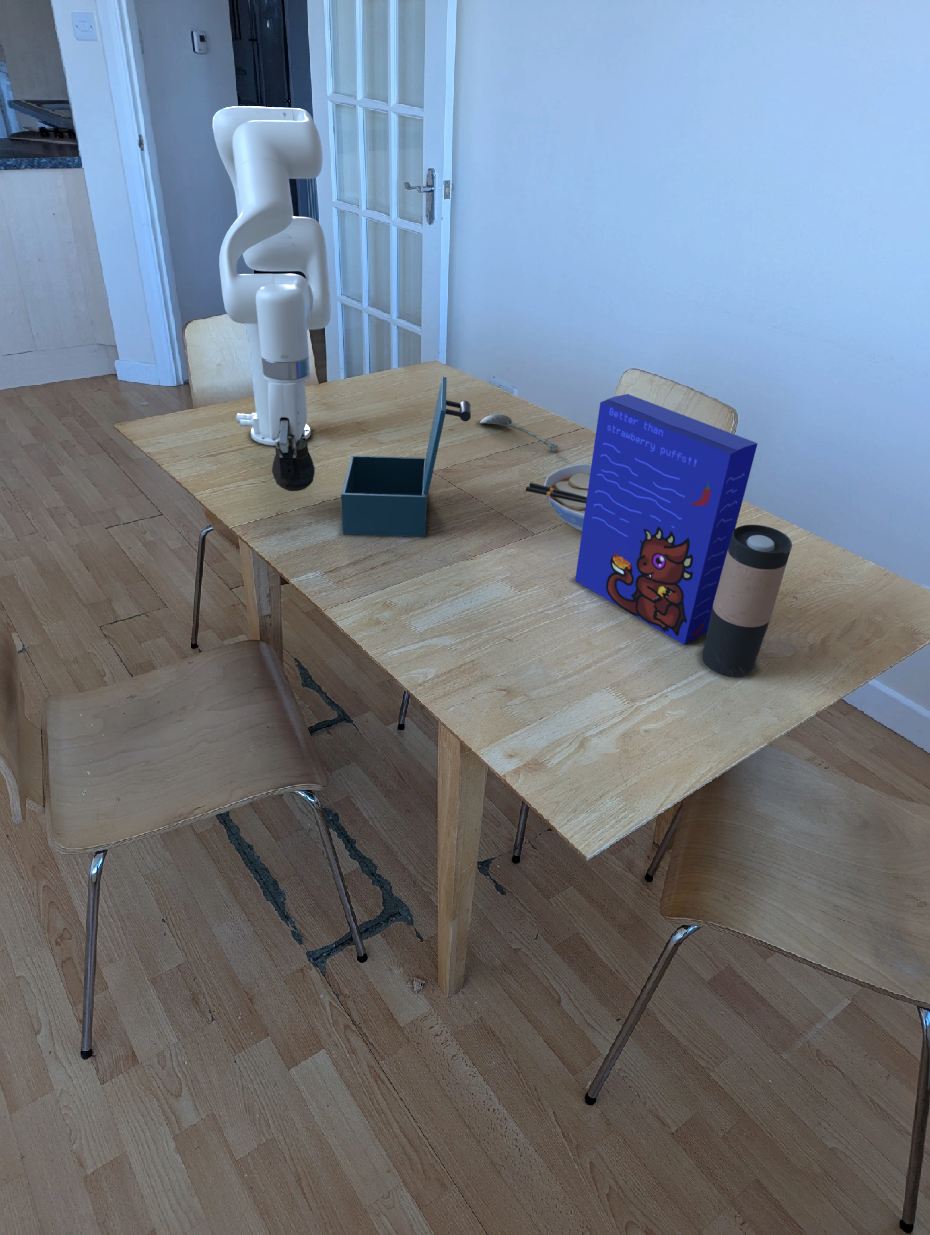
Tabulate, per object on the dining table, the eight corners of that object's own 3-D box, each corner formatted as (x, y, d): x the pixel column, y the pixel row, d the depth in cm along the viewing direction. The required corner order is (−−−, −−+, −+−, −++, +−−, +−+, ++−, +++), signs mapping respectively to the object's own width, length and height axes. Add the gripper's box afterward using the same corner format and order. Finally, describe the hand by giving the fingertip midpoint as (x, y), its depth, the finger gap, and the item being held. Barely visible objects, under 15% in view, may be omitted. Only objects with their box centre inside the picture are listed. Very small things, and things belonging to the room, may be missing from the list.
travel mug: (692, 645, 120) (723, 524, 108) (743, 644, 120) (778, 523, 109) (710, 678, 113) (744, 553, 102) (763, 677, 114) (803, 553, 103)
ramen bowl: (685, 517, 153) (693, 476, 148) (654, 573, 136) (663, 530, 131) (558, 487, 161) (563, 448, 156) (514, 537, 144) (518, 495, 139)
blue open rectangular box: (342, 534, 142) (341, 494, 138) (352, 492, 156) (350, 455, 151) (425, 536, 143) (425, 497, 138) (427, 495, 156) (428, 457, 152)
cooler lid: (441, 410, 130) (474, 417, 130) (442, 376, 143) (472, 382, 144) (423, 494, 138) (454, 500, 139) (425, 455, 151) (454, 460, 152)
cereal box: (708, 630, 123) (758, 441, 106) (684, 644, 120) (731, 452, 103) (599, 569, 136) (628, 392, 119) (575, 580, 133) (600, 400, 116)
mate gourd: (302, 473, 149) (297, 421, 144) (325, 488, 145) (321, 434, 139) (266, 484, 145) (260, 430, 140) (289, 499, 141) (284, 445, 135)
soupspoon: (495, 420, 191) (474, 427, 187) (495, 406, 189) (473, 413, 185) (565, 447, 177) (543, 456, 174) (565, 433, 175) (544, 441, 172)
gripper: (272, 350, 140) (281, 448, 150) (252, 384, 126) (263, 489, 136) (316, 351, 141) (322, 449, 151) (301, 385, 126) (308, 491, 136)
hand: (294, 467), depth 143 cm, fingers closed on mate gourd, 7 cm apart
